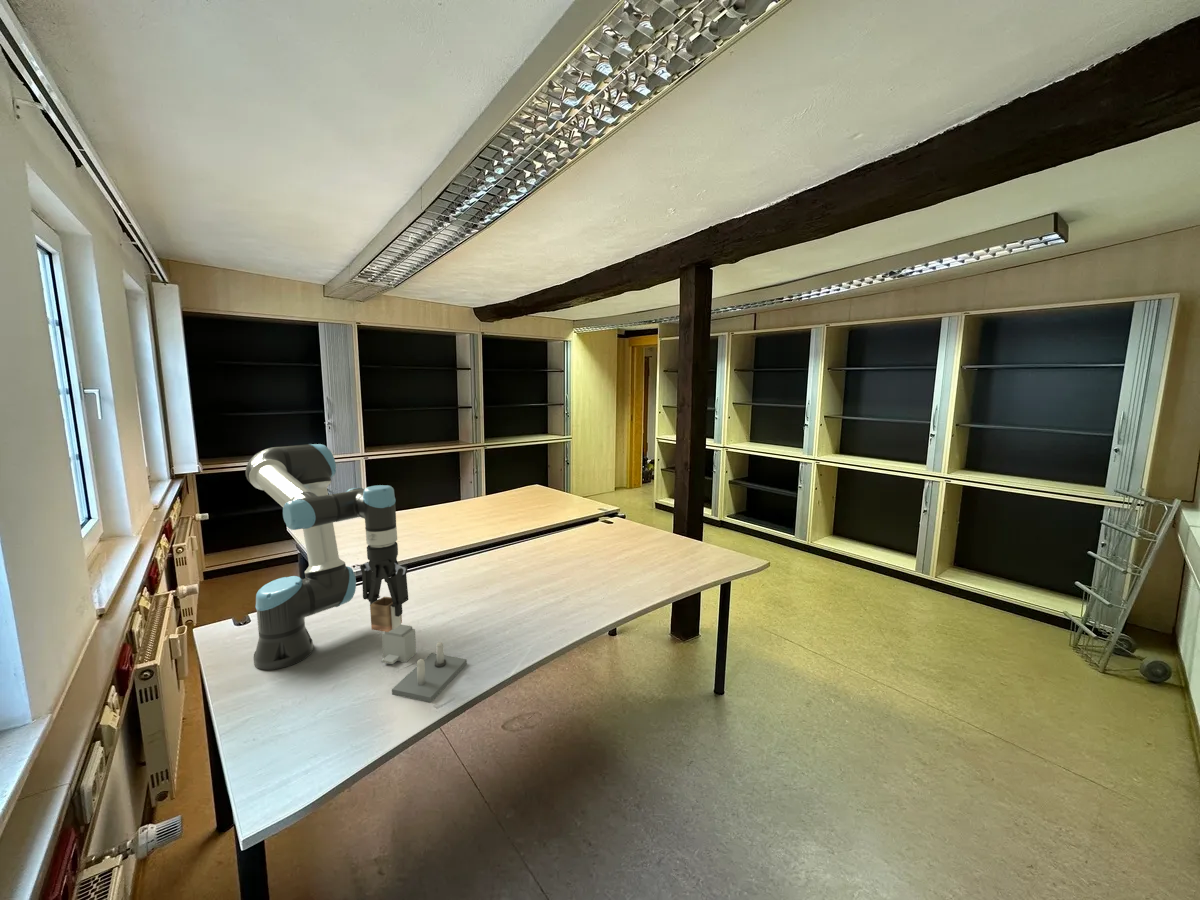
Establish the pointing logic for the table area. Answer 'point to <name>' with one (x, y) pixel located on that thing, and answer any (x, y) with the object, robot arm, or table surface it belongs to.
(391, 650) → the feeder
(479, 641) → the table surface
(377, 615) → the sleeve
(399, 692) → the pinboard
